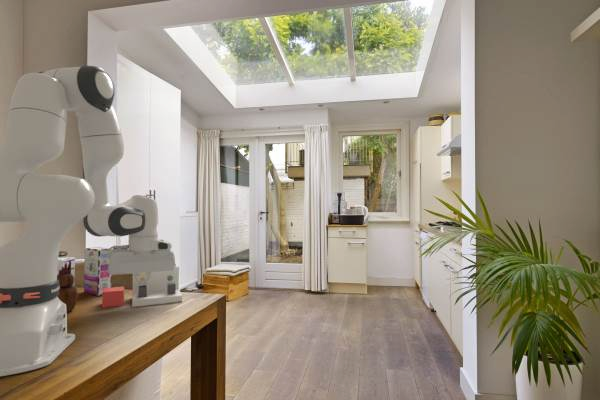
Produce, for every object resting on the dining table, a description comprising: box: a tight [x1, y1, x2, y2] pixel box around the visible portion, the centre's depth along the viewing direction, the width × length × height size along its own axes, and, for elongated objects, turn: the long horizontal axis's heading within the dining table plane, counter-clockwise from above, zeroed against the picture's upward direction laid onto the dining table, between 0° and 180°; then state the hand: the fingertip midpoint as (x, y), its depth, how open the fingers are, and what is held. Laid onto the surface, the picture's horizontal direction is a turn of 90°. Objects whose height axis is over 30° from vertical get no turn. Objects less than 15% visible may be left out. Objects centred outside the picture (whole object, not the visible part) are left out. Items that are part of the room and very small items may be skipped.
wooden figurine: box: [57, 261, 79, 313], centre depth 103 cm, size 7×6×15 cm
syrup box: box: [57, 256, 76, 286], centre depth 114 cm, size 6×6×14 cm
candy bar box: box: [83, 246, 113, 297], centre depth 125 cm, size 11×5×16 cm, turn 55°
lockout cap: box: [101, 286, 125, 308], centre depth 111 cm, size 6×6×5 cm
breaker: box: [138, 286, 147, 298], centre depth 113 cm, size 2×2×5 cm
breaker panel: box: [131, 265, 183, 308], centre depth 117 cm, size 12×15×10 cm
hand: (142, 286), depth 113 cm, fingers closed, pressing on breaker
